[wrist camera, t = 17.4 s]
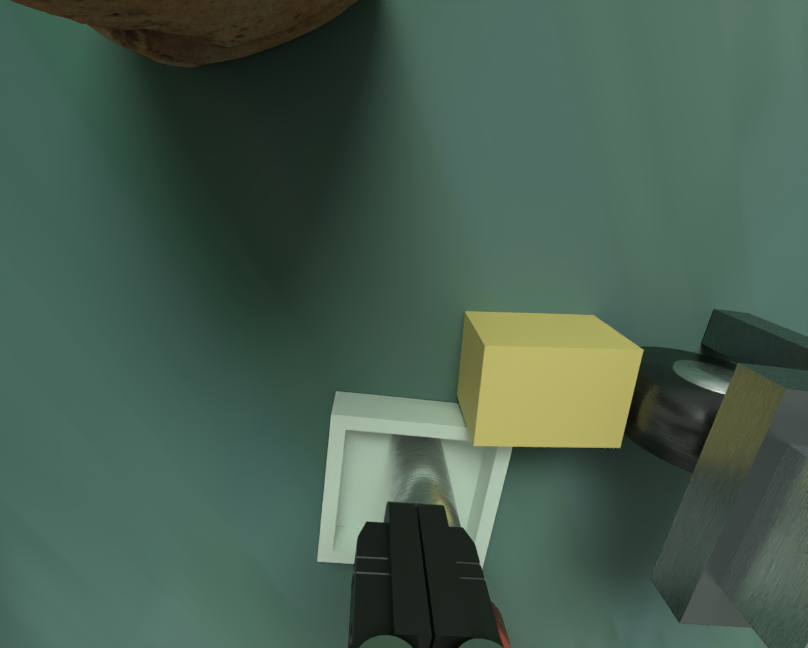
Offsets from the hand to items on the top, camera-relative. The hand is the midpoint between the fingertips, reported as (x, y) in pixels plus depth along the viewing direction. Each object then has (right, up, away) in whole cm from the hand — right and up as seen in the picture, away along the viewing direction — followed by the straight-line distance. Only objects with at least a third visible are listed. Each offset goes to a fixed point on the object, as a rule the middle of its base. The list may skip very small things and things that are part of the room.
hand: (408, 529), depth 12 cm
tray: (0, -3, +15) cm, 15 cm away
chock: (+6, +4, +13) cm, 15 cm away
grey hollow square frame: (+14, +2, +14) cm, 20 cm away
